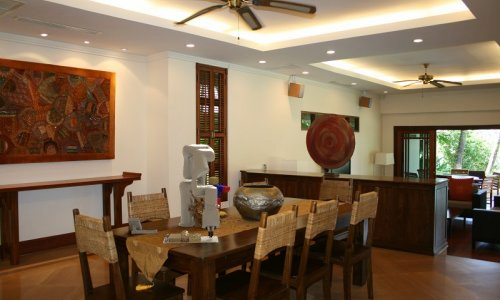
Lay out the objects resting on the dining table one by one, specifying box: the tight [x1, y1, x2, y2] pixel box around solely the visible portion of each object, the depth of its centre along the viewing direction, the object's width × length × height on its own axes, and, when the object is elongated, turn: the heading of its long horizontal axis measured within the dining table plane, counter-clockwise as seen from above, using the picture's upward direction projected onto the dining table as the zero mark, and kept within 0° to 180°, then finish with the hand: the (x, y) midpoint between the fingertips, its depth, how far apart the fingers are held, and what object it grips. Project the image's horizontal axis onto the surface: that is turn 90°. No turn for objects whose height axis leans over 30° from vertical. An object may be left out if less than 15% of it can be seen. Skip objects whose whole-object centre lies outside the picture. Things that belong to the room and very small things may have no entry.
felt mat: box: [162, 235, 219, 244], centre depth 252 cm, size 15×32×1 cm, turn 97°
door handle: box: [127, 217, 158, 235], centre depth 270 cm, size 18×8×20 cm
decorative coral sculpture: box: [188, 197, 224, 228], centre depth 297 cm, size 26×23×30 cm
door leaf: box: [183, 231, 202, 242], centre depth 252 cm, size 12×11×4 cm
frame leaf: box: [168, 229, 190, 244], centre depth 251 cm, size 12×11×4 cm
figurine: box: [199, 176, 231, 218], centre depth 338 cm, size 22×22×30 cm
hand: (210, 237), depth 254 cm, fingers closed
